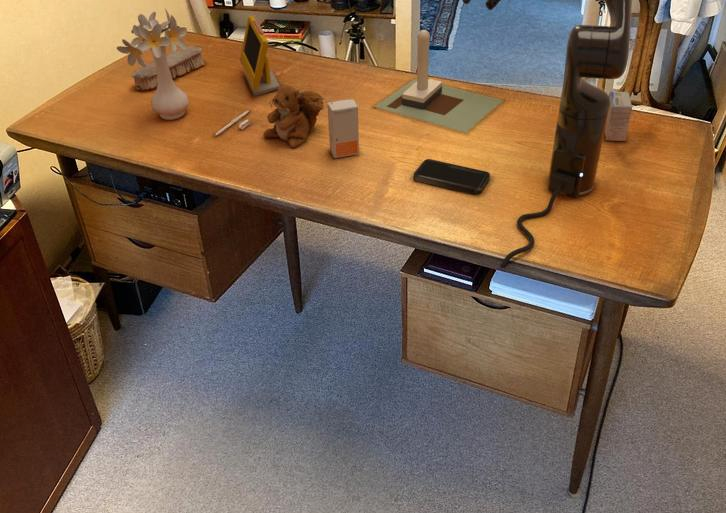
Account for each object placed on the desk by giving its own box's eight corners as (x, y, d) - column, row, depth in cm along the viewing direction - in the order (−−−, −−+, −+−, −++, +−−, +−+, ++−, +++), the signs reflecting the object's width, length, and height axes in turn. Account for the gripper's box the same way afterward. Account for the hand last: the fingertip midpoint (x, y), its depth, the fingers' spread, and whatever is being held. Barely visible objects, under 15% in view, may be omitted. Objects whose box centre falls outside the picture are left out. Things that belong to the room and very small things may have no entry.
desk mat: (465, 133, 165) (465, 132, 165) (374, 107, 177) (374, 106, 177) (503, 101, 178) (503, 100, 178) (415, 78, 190) (415, 77, 190)
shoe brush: (192, 57, 207) (188, 41, 204) (210, 63, 203) (207, 46, 200) (129, 88, 191) (124, 71, 188) (148, 94, 188) (143, 77, 185)
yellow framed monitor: (241, 72, 198) (233, 16, 188) (268, 67, 199) (262, 12, 189) (254, 101, 182) (246, 42, 173) (284, 96, 184) (277, 37, 174)
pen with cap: (247, 111, 178) (246, 104, 177) (262, 114, 176) (261, 107, 175) (214, 136, 168) (212, 128, 167) (229, 139, 167) (227, 131, 165)
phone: (479, 191, 144) (411, 175, 149) (478, 195, 144) (411, 179, 150) (491, 172, 149) (426, 157, 155) (491, 176, 150) (426, 162, 155)
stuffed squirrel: (260, 138, 167) (253, 86, 159) (304, 117, 175) (300, 66, 166) (287, 152, 161) (281, 99, 153) (332, 130, 169) (329, 78, 161)
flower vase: (131, 130, 172) (104, 29, 157) (167, 97, 186) (145, 2, 171) (179, 135, 169) (156, 34, 154) (212, 102, 183) (194, 5, 168)
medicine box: (625, 142, 160) (633, 107, 154) (605, 140, 160) (612, 106, 155) (622, 125, 166) (629, 91, 160) (602, 124, 166) (609, 90, 161)
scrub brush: (423, 109, 175) (424, 40, 164) (401, 105, 177) (402, 36, 166) (442, 92, 182) (444, 24, 171) (421, 87, 185) (422, 21, 174)
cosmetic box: (334, 159, 158) (330, 110, 151) (329, 150, 161) (326, 102, 154) (360, 154, 159) (358, 106, 152) (355, 146, 162) (353, 98, 155)
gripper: (492, -64, 168) (449, -12, 167) (535, -58, 158) (489, -3, 157) (505, -39, 173) (463, 10, 172) (547, -32, 163) (503, 21, 162)
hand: (475, 4), depth 165 cm, fingers open, 8 cm apart
